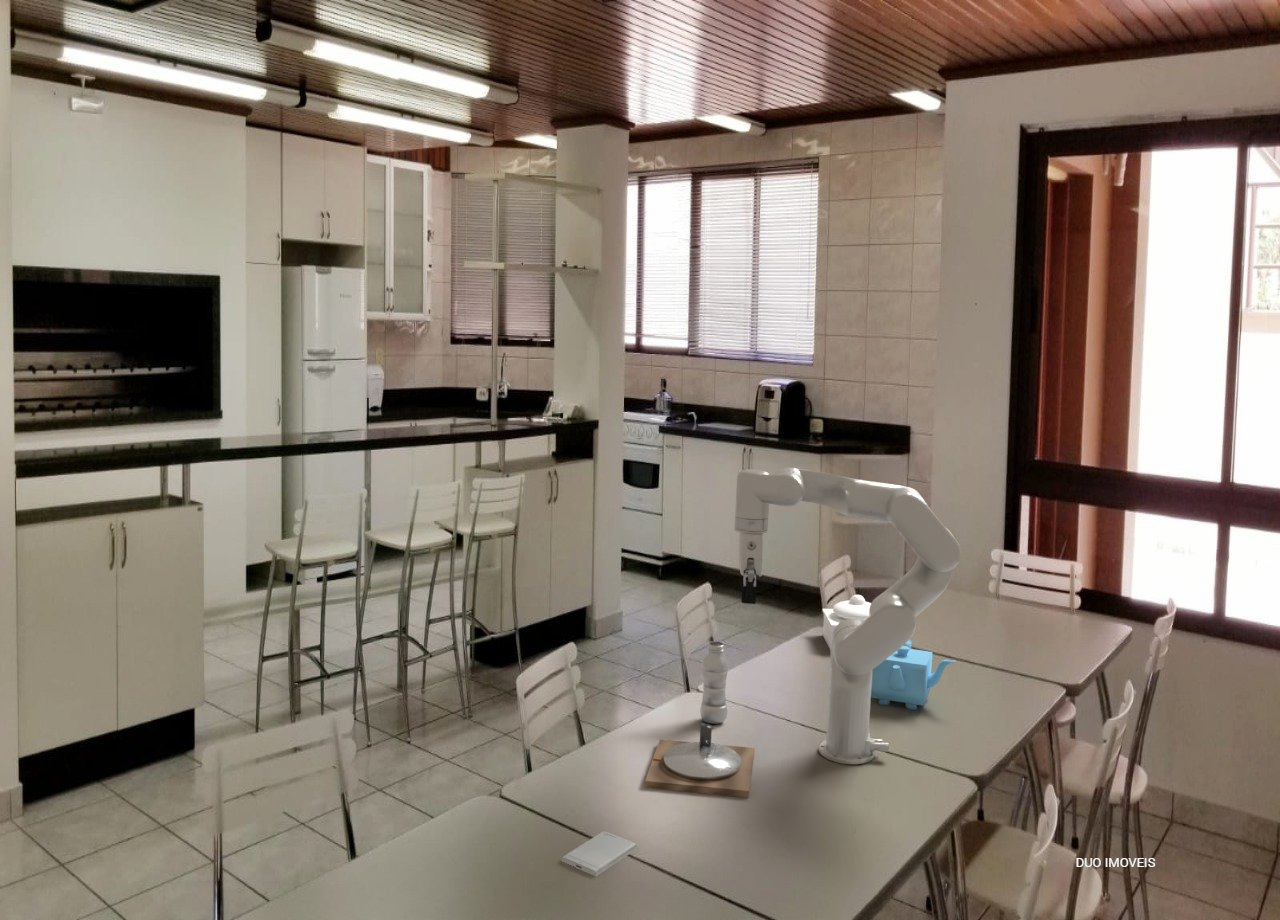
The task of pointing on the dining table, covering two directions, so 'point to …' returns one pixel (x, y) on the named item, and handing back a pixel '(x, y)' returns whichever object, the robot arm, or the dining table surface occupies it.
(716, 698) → the plastic bottle
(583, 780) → the dining table surface
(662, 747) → the dial base
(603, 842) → the hard drive
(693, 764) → the dial
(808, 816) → the dining table surface
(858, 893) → the dining table surface
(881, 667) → the teakettle
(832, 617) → the butter dish
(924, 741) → the dining table surface
